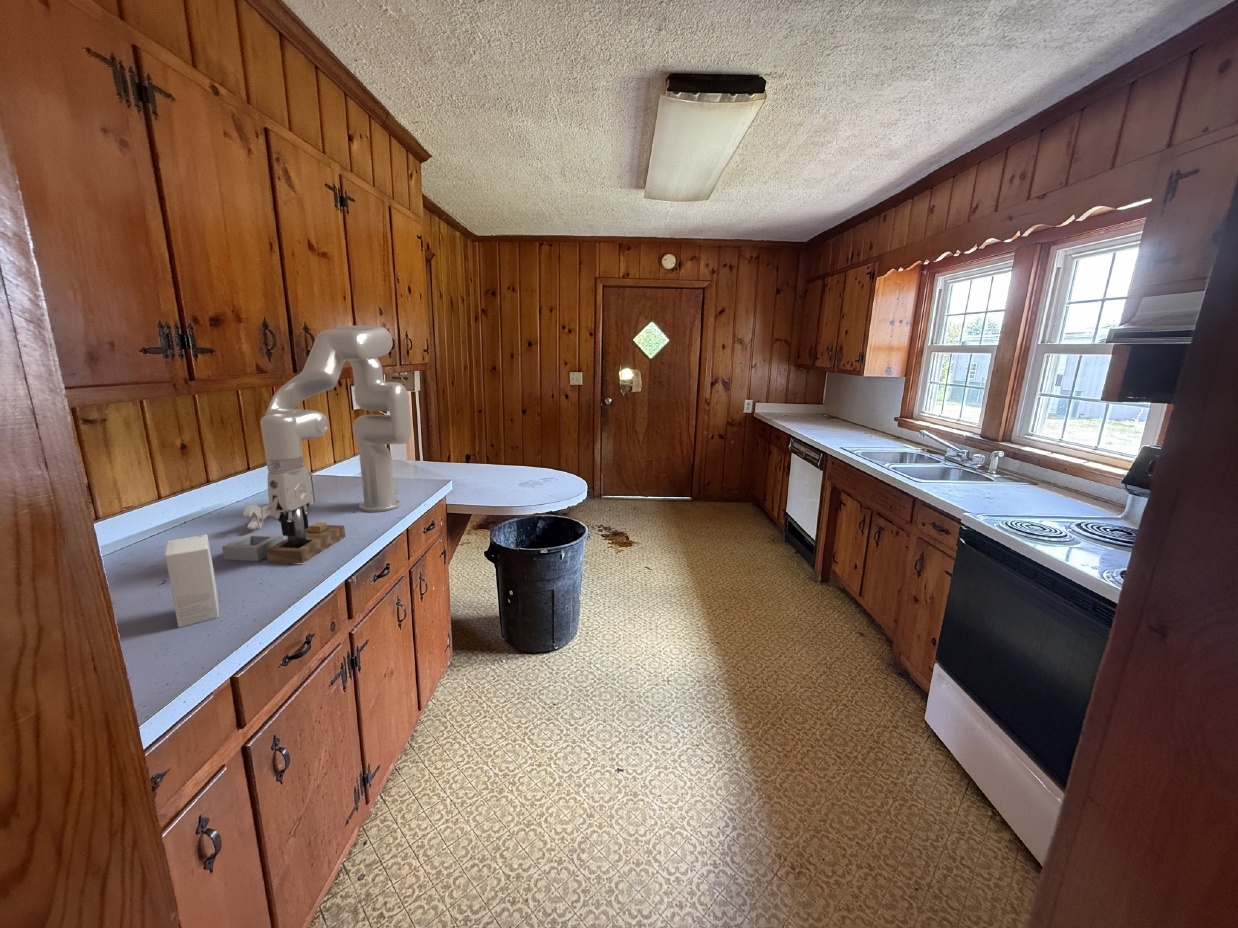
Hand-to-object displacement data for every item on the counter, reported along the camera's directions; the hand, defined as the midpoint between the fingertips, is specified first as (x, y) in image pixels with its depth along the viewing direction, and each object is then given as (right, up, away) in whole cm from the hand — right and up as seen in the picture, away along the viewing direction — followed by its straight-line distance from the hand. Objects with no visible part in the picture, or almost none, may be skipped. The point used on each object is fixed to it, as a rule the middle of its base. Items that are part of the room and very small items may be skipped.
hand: (296, 531), depth 125 cm
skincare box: (-2, -13, -27) cm, 30 cm away
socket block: (0, -6, +5) cm, 8 cm away
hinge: (-24, +3, +37) cm, 44 cm away
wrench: (-26, 0, +27) cm, 37 cm away
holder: (-12, -6, +2) cm, 14 cm away
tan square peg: (0, -4, +10) cm, 11 cm away
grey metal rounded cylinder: (0, -5, +1) cm, 5 cm away
